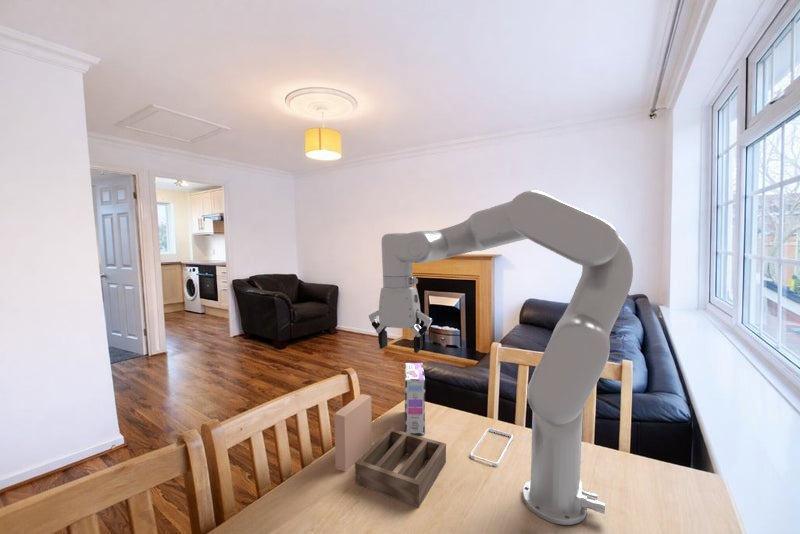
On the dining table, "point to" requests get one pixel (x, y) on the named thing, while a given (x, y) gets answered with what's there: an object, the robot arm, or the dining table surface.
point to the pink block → (353, 431)
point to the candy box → (414, 399)
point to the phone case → (481, 441)
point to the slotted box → (403, 486)
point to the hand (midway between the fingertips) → (400, 349)
